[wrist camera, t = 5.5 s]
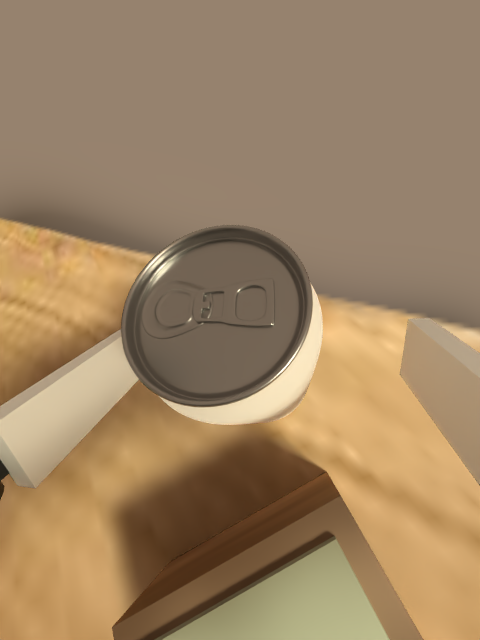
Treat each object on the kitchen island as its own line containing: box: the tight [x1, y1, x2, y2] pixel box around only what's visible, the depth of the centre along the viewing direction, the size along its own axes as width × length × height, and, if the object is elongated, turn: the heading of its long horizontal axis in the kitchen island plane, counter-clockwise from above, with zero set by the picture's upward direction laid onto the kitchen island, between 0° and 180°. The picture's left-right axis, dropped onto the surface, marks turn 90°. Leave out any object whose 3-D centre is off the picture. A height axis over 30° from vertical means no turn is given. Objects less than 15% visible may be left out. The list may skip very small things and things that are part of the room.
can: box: [121, 225, 323, 425], centre depth 12 cm, size 6×6×12 cm
